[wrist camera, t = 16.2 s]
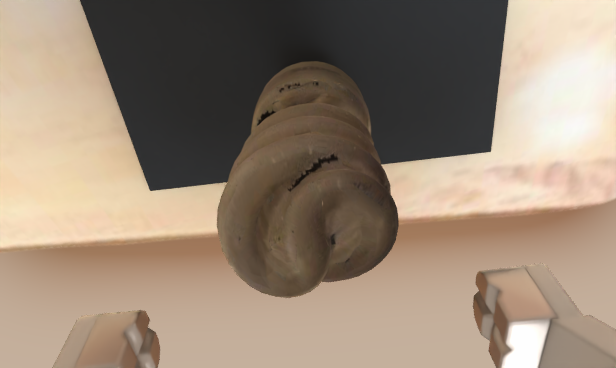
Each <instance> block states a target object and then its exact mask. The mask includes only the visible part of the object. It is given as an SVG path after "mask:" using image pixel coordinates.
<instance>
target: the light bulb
mask: <svg viewBox="0 0 616 368" xmlns="http://www.w3.org/2000/svg"><path fill="white" fill-rule="evenodd" d="M217 228H218V234H219V239H220V243H221V248H222V251H223V253H224V255H225V257H226V259H227V261H228V263H229V265H230V266H231V267H232V269H233V270H234V271H235V272H236V274H237V275H238V276H239V277H240V278H241V279H242V280H243V281H245V282H246V283H247V284H248V285H249V286H251V287H252V288H254V289H256V290H258V291H260V292H262V293H265V294H268V295H272V296H276V297H285V298H291V297H296V296H301V295H303V294H306V293H308V292H311V291H312V290H313V289H314V288H316V287H317V286H318V285H319V284H320V283H321V282H334V281H340V280H346V279H350V278H354V277H357V276H360V275H362V274H364V273H366V272H367V271H369V270H371V269H372V268H374V267H375V266H376V265H378V264H379V263H380V262H381V261H382V260H383V259H384V258H385V257H386V256H387V254H388V253H389V252H390V250H391V249H392V247H393V245H394V243H395V240H396V236H397V230H398V213H397V207H396V205H395V202H394V200H393V198H392V196H391V195H390V183H389V181H388V178H387V176H386V173H385V171H384V169H383V168H382V166H381V161H380V158H379V156H378V153H377V151H376V149H375V147H374V142H373V140H372V137H371V124H370V116H369V111H368V108H367V106H366V103H365V101H364V99H363V96H362V94H361V92H360V90H359V88H358V86H357V85H356V83H355V82H354V81H353V80H352V79H351V78H350V77H349V76H348V75H347V74H346V73H344V72H343V71H342V70H340V69H339V68H337V67H335V66H333V65H330V64H327V63H324V62H318V61H311V62H300V63H297V64H293V65H290V66H288V67H286V68H284V69H283V70H281V71H280V72H279V73H277V74H276V75H275V76H274V77H273V78H272V79H271V80H270V81H269V82H268V83H267V84H266V86H265V88H264V90H263V92H262V94H261V95H260V97H259V100H258V102H257V105H256V108H255V111H254V115H253V121H252V127H251V135H250V136H249V137H248V139H247V140H246V141H245V144H244V146H243V148H242V151H241V153H240V154H239V156H238V157H237V159H236V160H235V162H234V164H233V167H232V169H231V172H230V175H229V179H228V183H227V185H226V187H225V189H224V191H223V194H222V196H221V199H220V203H219V206H218V215H217Z"/></svg>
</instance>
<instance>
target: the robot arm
mask: <svg viewBox="0 0 616 368" xmlns="http://www.w3.org/2000/svg"><path fill="white" fill-rule="evenodd" d="M476 285H477V287H478V289H479V292H477V293H476V294H475V295H474V302H473V309H474V316H475V320H476V323H477V326H478V329H479V331H480V333H481V335H482V336H484V337H485V338H486V339H488V340H489V341H490V344H489V353H490V355H491V357H492V360H493V361H494V364H495V366H496V368H616V329H614V328H612V327H611V326H609V325H607V324H605V323H603V322H602V321H600V320H598V319H596V318H594V317H593V316H590V315H586V316H583V314H582V313H581V312H580V310H579V309H578V308H577V306H576V305H575V303H574V302H573V301H572V299H571V298H570V297H569V295H568V294H567V293H566V291H565V290H564V289H563V287H562V286H561V285H560V283H559V282H558V281H557V279H556V278H555V276H554V275H553V274H552V272H551V271H550V270H549V268H548V267H547V266H546V265H544V264H543V263H541V264H533V265H525V266H516V267H508V268H500V269H492V270H484V271H479V272H478V274H477V276H476ZM149 321H150V319H149V317H148V315H147V313H146V311H141V310H139V311H128V312H117V313H105V314H98V315H87V316H82V317H80V318H79V319H78V320H77V321H76V323H75V325H74V326H73V328H72V330H71V332H70V334H69V336H68V338H67V340H66V342H65V344H64V346H63V348H62V350H61V352H60V354H59V356H58V358H57V360H56V362H55V363H54V365H53V367H52V368H157V367H158V364H159V360H160V359H159V358H160V345H159V340H158V337H157V335H156V333H155V332H154V331H153V330H151V329H149V328H148V324H149Z"/></svg>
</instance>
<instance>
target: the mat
mask: <svg viewBox="0 0 616 368" xmlns="http://www.w3.org/2000/svg"><path fill="white" fill-rule="evenodd" d="M80 2H81V4H82V7H83V10H84V12H85V15H86V18H87V21H88V23H89V26H90V29H91V31H92V34H93V37H94V40H95V42H96V45H97V48H98V50H99V53H100V56H101V59H102V61H103V64H104V67H105V69H106V72H107V75H108V78H109V80H110V83H111V86H112V89H113V91H114V94H115V97H116V99H117V102H118V105H119V108H120V110H121V113H122V116H123V118H124V121H125V124H126V127H127V129H128V132H129V135H130V137H131V140H132V143H133V146H134V148H135V151H136V154H137V156H138V159H139V162H140V165H141V167H142V170H143V173H144V176H145V178H146V181H147V184H148V186H149V189H150V191H153V190H162V189H171V188H180V187H188V186H197V185H206V184H214V183H223V182H228V179H229V175H230V172H231V169H232V167H233V164H234V162H235V160H236V159H237V157H238V156H239V154H240V153H241V151H242V148H243V146H244V144H245V141H246V140H247V139H248V137H249V136H250V135H251V127H252V121H253V115H254V111H255V108H256V105H257V102H258V100H259V97H260V95H261V94H262V92H263V90H264V88H265V86H266V84H267V83H268V82H269V81H270V80H271V79H272V78H273V77H274V76H275V75H276V74H277V73H279V72H280V71H281V70H283V69H284V68H286V67H288V66H290V65H293V64H297V63H300V62H311V61H318V62H324V63H327V64H330V65H333V66H335V67H337V68H339V69H340V70H342V71H343V72H344V73H346V74H347V75H348V76H349V77H350V78H351V79H352V80H353V81H354V82H355V83H356V85H357V86H358V88H359V90H360V92H361V94H362V96H363V99H364V101H365V103H366V106H367V108H368V111H369V116H370V124H371V137H372V140H373V142H374V147H375V149H376V151H377V153H378V156H379V158H380V161H381V164H389V163H397V162H406V161H415V160H423V159H432V158H441V157H450V156H458V155H467V154H476V153H484V152H491V145H492V137H493V128H494V119H495V111H496V102H497V93H498V85H499V76H500V67H501V59H502V50H503V41H504V33H505V24H506V16H507V7H508V0H80Z"/></svg>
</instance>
